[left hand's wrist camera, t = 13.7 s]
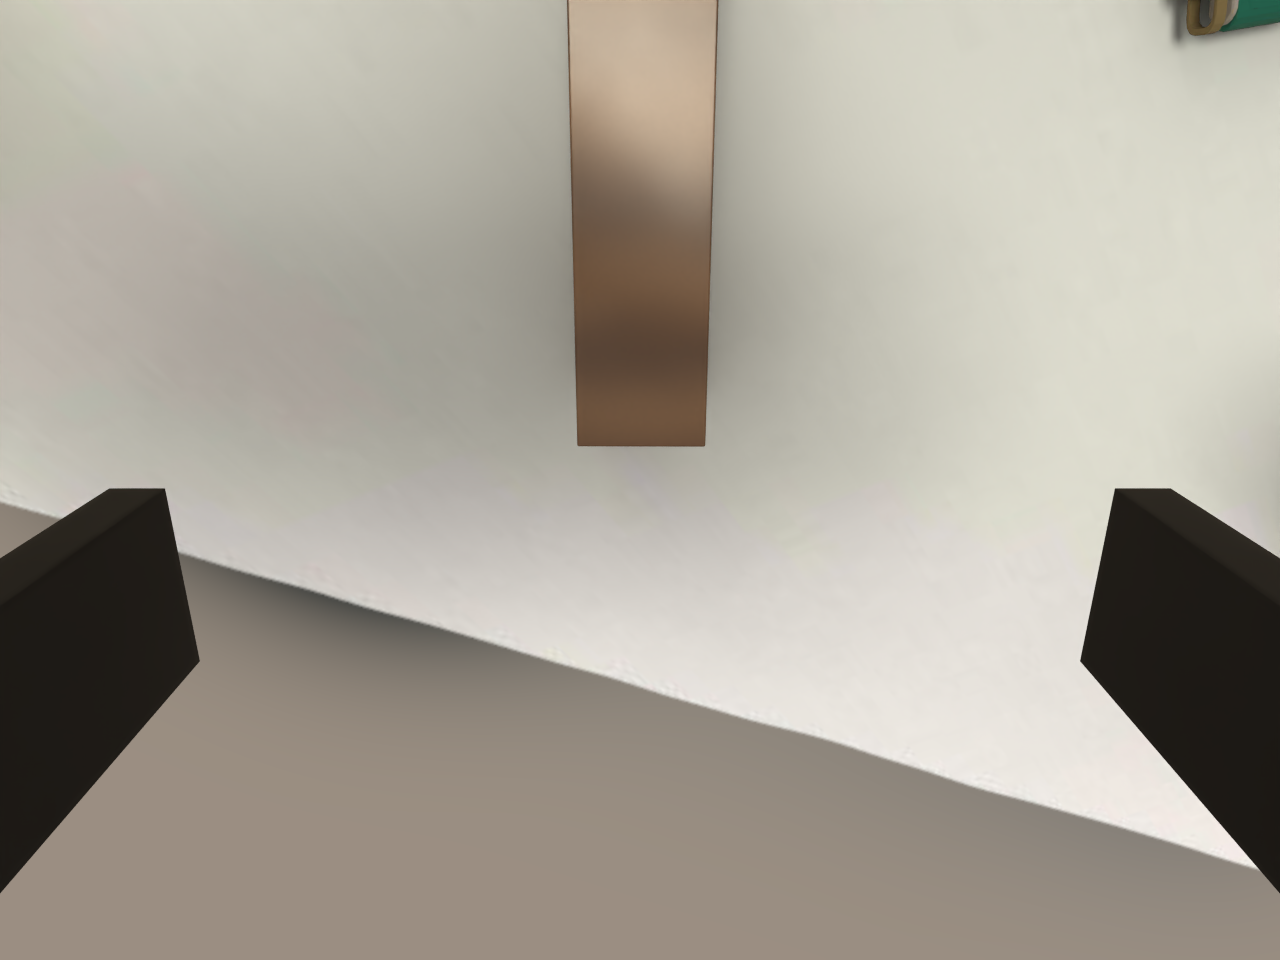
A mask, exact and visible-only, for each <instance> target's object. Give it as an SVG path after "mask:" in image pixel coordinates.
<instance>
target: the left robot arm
mask: <svg viewBox="0 0 1280 960" xmlns="http://www.w3.org/2000/svg"><path fill="white" fill-rule="evenodd" d="M199 661H200V660H199V655H198V650H197V645H196V640H195V635H194V630H193V625H192V620H191V615H190V610H189V606H188V600H187V595H186V590H185V586H184V581H183V576H182V571H181V566H180V561H179V556H178V551H177V546H176V541H175V536H174V531H173V526H172V521H171V516H170V511H169V506H168V501H167V496H166V491H165V489H108V490H106V491H105V492H103V493H102V494H100V495H99V496H97V497H95V498H94V499H92V500H91V501H89V502H88V503H86V504H84V505H83V506H81V507H80V508H78V509H77V510H75V511H74V512H72V513H70V514H69V515H67V516H66V517H64V518H63V519H61V520H59V521H58V522H56V523H55V524H53V525H52V526H50V527H49V528H47V529H45V530H44V531H42V532H41V533H39V534H38V535H36V536H34V537H33V538H31V539H30V540H28V541H27V542H25V543H24V544H22V545H20V546H19V547H17V548H16V549H14V550H13V551H11V552H9V553H8V554H6V555H5V556H3V557H2V558H0V893H1V892H2V890H3V889H4V888H5V887H6V886H7V885H8V884H9V882H10V881H11V880H12V879H13V878H14V877H15V875H16V874H17V873H18V872H19V871H20V870H21V868H22V867H23V866H24V865H25V864H26V863H27V861H28V860H29V859H30V858H31V857H32V856H33V854H34V853H35V852H36V851H37V850H38V849H39V847H40V846H41V845H42V844H43V843H44V842H45V840H46V839H47V838H48V837H49V836H50V835H51V833H52V832H53V831H54V830H55V829H56V828H57V826H58V825H59V824H60V823H61V822H62V821H63V820H64V818H65V817H66V816H67V815H68V814H69V813H70V811H71V810H72V809H73V808H74V807H75V806H76V804H77V803H78V802H79V801H80V800H81V799H82V797H83V796H84V795H85V794H86V793H87V792H88V790H89V789H90V788H91V787H92V786H93V785H94V784H95V782H96V781H97V780H98V779H99V778H100V777H101V775H102V774H103V773H104V772H105V771H106V770H107V768H108V767H109V766H110V765H111V764H112V763H113V761H114V760H115V759H116V758H117V757H118V756H119V754H120V753H121V752H122V751H123V750H124V749H125V747H126V746H127V745H128V744H129V743H130V742H131V740H132V739H133V738H134V737H135V736H136V735H137V733H138V732H139V731H140V730H141V729H142V728H143V727H144V725H145V724H146V723H147V722H148V721H149V719H150V718H151V717H152V716H153V715H154V714H155V713H156V711H157V710H158V709H159V708H160V707H161V706H162V704H163V703H164V702H165V701H166V700H167V699H168V697H169V696H170V695H171V694H172V693H173V692H174V690H175V689H176V688H177V687H178V686H179V685H180V683H181V682H182V681H183V680H184V679H185V678H186V676H187V675H188V674H189V673H190V672H191V671H192V669H193V668H194V667H195V666H196V665H197V664H198V663H199ZM1080 661H1081V663H1082V664H1083V665H1084V666H1085V667H1086V668H1087V670H1088V671H1089V672H1090V673H1091V674H1092V675H1093V677H1094V678H1095V679H1096V680H1097V681H1098V682H1099V683H1100V685H1101V686H1102V687H1103V688H1104V689H1105V690H1106V692H1107V693H1108V694H1109V695H1110V696H1111V697H1112V699H1113V700H1114V701H1115V702H1116V703H1117V704H1118V706H1119V707H1120V708H1121V709H1122V710H1123V711H1124V713H1125V714H1126V715H1127V716H1128V717H1129V718H1130V720H1131V721H1132V722H1133V723H1134V724H1135V725H1136V727H1137V728H1138V729H1139V730H1140V731H1141V732H1142V734H1143V735H1144V736H1145V737H1146V738H1147V739H1148V740H1149V742H1150V743H1151V744H1152V745H1153V746H1154V747H1155V749H1156V750H1157V751H1158V752H1159V753H1160V754H1161V756H1162V757H1163V758H1164V759H1165V760H1166V761H1167V763H1168V764H1169V765H1170V766H1171V767H1172V768H1173V770H1174V771H1175V772H1176V773H1177V774H1178V775H1179V777H1180V778H1181V779H1182V780H1183V781H1184V782H1185V784H1186V785H1187V786H1188V787H1189V788H1190V789H1191V790H1192V792H1193V793H1194V794H1195V795H1196V796H1197V797H1198V799H1199V800H1200V801H1201V802H1202V803H1203V804H1204V806H1205V807H1206V808H1207V809H1208V810H1209V811H1210V813H1211V814H1212V815H1213V816H1214V817H1215V818H1216V820H1217V821H1218V822H1219V823H1220V824H1221V825H1222V827H1223V828H1224V829H1225V830H1226V831H1227V832H1228V834H1229V835H1230V836H1231V837H1232V838H1233V839H1234V841H1235V842H1236V843H1237V844H1238V845H1239V846H1240V847H1241V849H1242V850H1243V851H1244V852H1245V853H1246V854H1247V856H1248V857H1249V858H1250V859H1251V860H1252V861H1253V863H1254V864H1255V865H1256V866H1257V867H1258V868H1259V870H1260V871H1261V872H1262V873H1263V874H1264V875H1265V877H1266V878H1267V879H1268V880H1269V881H1270V882H1271V883H1272V885H1273V886H1274V887H1275V888H1276V889H1277V891H1278V892H1279V893H1280V558H1278V557H1277V556H1275V555H1274V554H1272V553H1271V552H1269V551H1267V550H1266V549H1264V548H1263V547H1261V546H1260V545H1258V544H1256V543H1255V542H1253V541H1252V540H1250V539H1249V538H1247V537H1246V536H1244V535H1242V534H1241V533H1239V532H1238V531H1236V530H1235V529H1233V528H1231V527H1230V526H1228V525H1227V524H1225V523H1224V522H1222V521H1221V520H1219V519H1217V518H1216V517H1214V516H1213V515H1211V514H1210V513H1208V512H1206V511H1205V510H1203V509H1202V508H1200V507H1199V506H1197V505H1196V504H1194V503H1192V502H1191V501H1189V500H1188V499H1186V498H1185V497H1183V496H1181V495H1180V494H1178V493H1177V492H1175V491H1174V490H1172V489H1115V491H1114V496H1113V501H1112V506H1111V511H1110V516H1109V521H1108V526H1107V531H1106V536H1105V541H1104V546H1103V551H1102V556H1101V561H1100V566H1099V571H1098V576H1097V581H1096V586H1095V590H1094V595H1093V600H1092V605H1091V610H1090V615H1089V620H1088V625H1087V630H1086V635H1085V640H1084V645H1083V650H1082V655H1081V660H1080Z"/></svg>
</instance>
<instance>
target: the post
mask: <svg viewBox="0 0 1280 960" xmlns="http://www.w3.org/2000/svg"><path fill="white" fill-rule="evenodd" d="M567 19H568V62H569V105H570V148H571V191H572V234H573V277H574V320H575V363H576V406H577V445H578V446H705V435H706V401H707V368H708V334H709V300H710V266H711V233H712V199H713V165H714V132H715V98H716V64H717V30H718V0H567Z"/></svg>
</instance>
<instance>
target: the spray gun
mask: <svg viewBox="0 0 1280 960" xmlns="http://www.w3.org/2000/svg"><path fill="white" fill-rule="evenodd" d="M1199 12H1200V0H1188V6H1187V18H1186V21H1187V29H1188V31H1189V33H1190V34H1192V35H1195V36H1196V35H1205V34H1211V33H1215V32H1217V31H1222V32H1225V31H1231V30H1236V29H1242V28H1248V27H1254V26H1260V25H1266V24H1272V23H1278V22H1280V0H1210V6H1209V17H1210V19H1211V23H1210V24H1209V26H1207V27H1202V26H1201V24H1200V20H1199Z"/></svg>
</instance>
